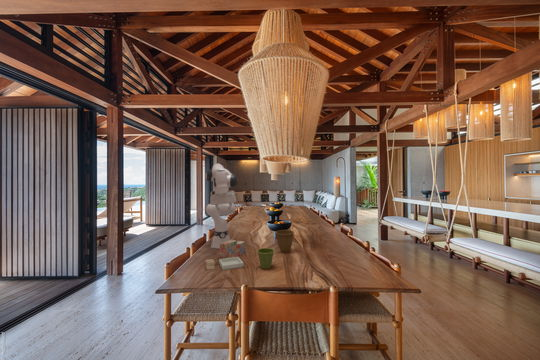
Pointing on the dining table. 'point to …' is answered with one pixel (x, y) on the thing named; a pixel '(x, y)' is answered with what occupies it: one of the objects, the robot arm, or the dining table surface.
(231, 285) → the dining table surface
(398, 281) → the dining table surface
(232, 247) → the patterned box
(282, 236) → the plant pot
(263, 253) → the plant pot
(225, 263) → the tray
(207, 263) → the maple block
